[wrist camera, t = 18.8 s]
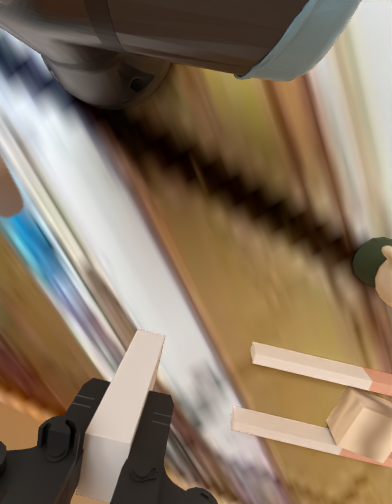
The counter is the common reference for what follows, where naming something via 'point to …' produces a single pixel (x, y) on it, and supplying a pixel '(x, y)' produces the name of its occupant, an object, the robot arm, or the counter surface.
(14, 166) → the counter surface
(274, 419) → the channel
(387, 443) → the maple block
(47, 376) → the counter surface
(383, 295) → the character mug
